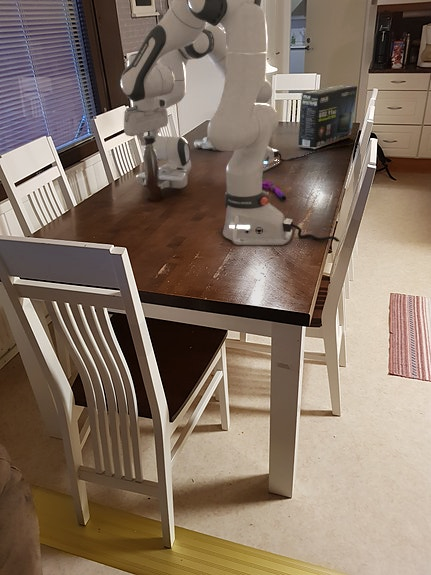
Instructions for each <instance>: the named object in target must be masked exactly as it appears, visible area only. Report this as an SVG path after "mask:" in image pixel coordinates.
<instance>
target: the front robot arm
mask: <svg viewBox="0 0 431 575" xmlns="http://www.w3.org/2000/svg"><path fill="white" fill-rule="evenodd" d="M261 4H262V0H172V1H171V3H170V5H169V7H168V9H167V11H166V12H165V14H164V15H163V17H162V18H161V19H160V20H159V22H157V24H156V25H155V26H154V27H153V28H152V29H151V30H150V31H149V33H148V34H147V36H146V37H145V39H144V41H143V42H142V44H141V46H139V49H138V51H137V53H133V54H130V55H129V56H128V59H127V67H125V68H124V70H123V72H122V74H121V75H120V76H121V77H120V80H119V81H120V89H121V91H122V93H123V94H124V96H126V97H127V98H128V99H129V100H131V107H127V108H125V110H124V112H123V132H124V134H125V135H126V137H135V136H137V138H138V140H139V141H140V146H144V147H145V145H147V140H145V139H144V136H145V133H147V132H148V131H151V132H152V134H151V136H153V138H154V142H156V135H157V132H158V131H157V129H158V128H160V129H161V128H165V127H167V126H168V125H169V124H168V123H169V115H168V108H166V107H165V106H166V100H164V99H161V98H157V96H163V95H167V94H169V93H171V91H172V90H173V87H174V75H173V72H172V70H171V69H170V68H169V67H168V66H167V65H163V64H161V63H159V62H157V61H158V60H159V59H160V58H161V57H162V56H163V55H165V54H166V53H168V52H171V51H173V50H176V49H179V48H182V47H185V46H188V45H190V44H192V43H193V42H195V40H196V39H197V38H198V37H199V36H200V35H201V33H202V31H203V29H204V28H205V27H206V25H207V24H208V25H213V26H216V25H217V26H219V24H220V25H221V27H223V29H224V32H225V33H226V64H225V78H224V84H223V90H222V94H221V97H220V102H219V104H218V107H217V109H216V111H215V113H214V115H213V116H212V117H211V119H210V120H209V122H208V124H207V130H206V132H207V135H208V138H209V141H210V143H211V144H212V146H213V147H214V148H216V149H217V150H216V151H219V152H232V151H233V154H232V156H231V158H230V160H229V161H228V162H227V164H226V168H225V177H226V178H225V179H226V180H225V181H226V182H225V183H226V190H225V194H224V205H225V209H226V210H225V218H224V219H225V220H224V226H223V229H222V235H223V237H225V239H228V240H230V241H232V243H233V244H234V245H236V246H283V245H286V244H288V243H289V242H290V240H291V239H292V237H293V228H294V229H296V230H297V237H298V238H300V239H306V238H312V239H313V240H316V241H320V242H321V241H328V240H334V241H335V242H338V243H339V242H340V239H339V238H338V237H336V236H334V235H330V236H323V237H318V236H316V235H315V234H310V233H307V234H302V228H301V227H300V226H299V225H297V224H294V218H285V215H284V213H283V212H282V211H280V210H279V209H278V208H277V207H276V206H275V205H272V204H271V203H270V202H269V194H270V192H269V191H267V192H266V191H265V190H263V187H262V182H263V175H264V174H263V173H264V171H263V164H264V160H265V156H266V152H267V149H268V147H269V145H270V142H271V140H272V137H273V136H274V135H275V133H276V132H277V130H278V127H279V123H280V120H279V115H278V112H277V110H276V109H275V107H273V106H272V105H271V104H268V103H265V104H263V103H255V102H256V99H257V96H258V94H259V92H260V91H261V90H262V88H263V87H264V84H265V81H266V80H267V61H268V60H267V58H268V29H267V28H268V27H267V20H266V13H265V11H264V9H263V8H262V7H261Z"/></svg>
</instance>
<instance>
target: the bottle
mask: <svg viewBox="0 0 431 575" xmlns="http://www.w3.org/2000/svg"><path fill="white" fill-rule="evenodd" d="M142 160H143V169H144V172H145V178H146V187H145V188H146V195H147V201H149V202H159V201H161V200H162V189H159V188H158V184H160V178H159V168H160V167H159V160H158V158H157V152H156V150H155V148H154V147H153V145H152V144H147V145H145V146H144V149H143V152H142Z"/></svg>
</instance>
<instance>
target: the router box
mask: <svg viewBox="0 0 431 575" xmlns="http://www.w3.org/2000/svg"><path fill="white" fill-rule="evenodd" d="M357 93H358V86H356V85H350V84H339V85H338V84H337V85H334V86H328V87H324V88H318V89H314V90H309V91H304V92H301V93H300V109H299V110H300V111H299V124H298V137H297V146H298V145H302V146H307V147H317V146H320V145H323V144H325V143H328V142H331V141H333V140H336V139H338V138H341V137H344V136H347V135H351V136H352V133H353V132H352V131H353V125H354V115H355V109H356V99H357ZM311 151H313V150H312V149H311Z"/></svg>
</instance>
